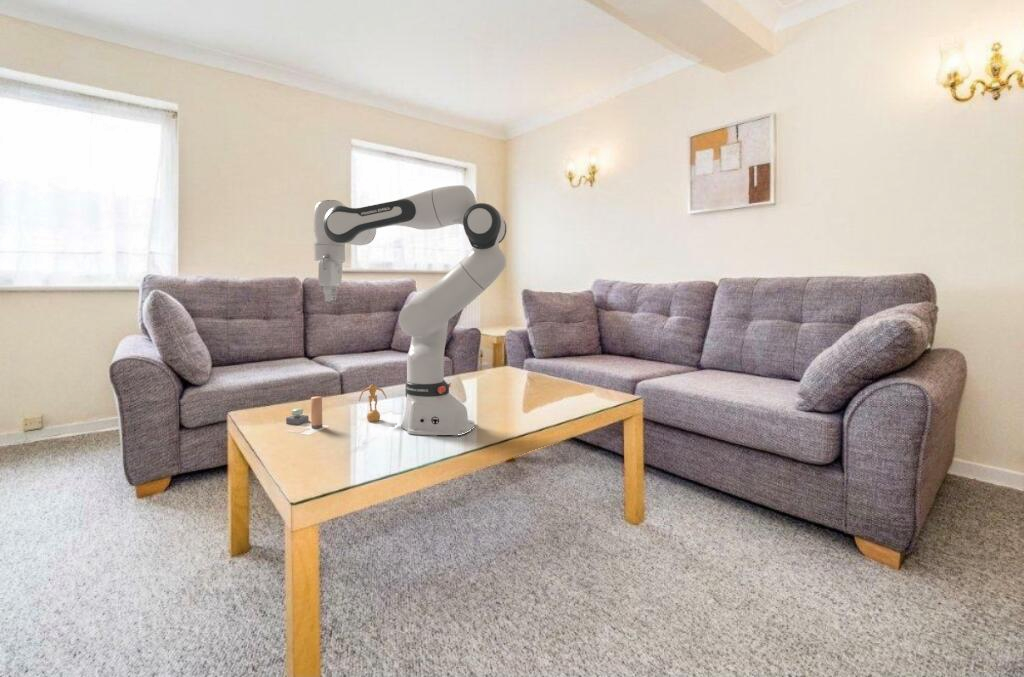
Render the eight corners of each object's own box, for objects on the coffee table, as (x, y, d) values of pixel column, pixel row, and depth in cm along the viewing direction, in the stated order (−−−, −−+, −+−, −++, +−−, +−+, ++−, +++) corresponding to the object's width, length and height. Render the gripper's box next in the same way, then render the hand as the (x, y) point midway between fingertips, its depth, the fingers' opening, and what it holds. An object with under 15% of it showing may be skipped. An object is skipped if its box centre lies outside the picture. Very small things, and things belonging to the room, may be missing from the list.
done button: (305, 417, 143) (305, 408, 143) (298, 419, 140) (297, 411, 139) (296, 416, 144) (296, 407, 143) (289, 418, 141) (289, 410, 140)
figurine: (360, 425, 142) (359, 387, 141) (358, 420, 148) (358, 383, 146) (388, 423, 145) (387, 385, 144) (385, 418, 151) (385, 381, 149)
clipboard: (335, 426, 141) (335, 418, 141) (308, 438, 129) (308, 430, 129) (296, 421, 145) (296, 414, 144) (267, 433, 133) (266, 425, 133)
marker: (324, 426, 138) (324, 396, 137) (318, 429, 136) (317, 399, 134) (316, 425, 139) (315, 396, 138) (309, 428, 136) (308, 398, 135)
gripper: (335, 253, 132) (336, 302, 134) (344, 257, 152) (345, 299, 154) (312, 253, 131) (313, 302, 132) (324, 256, 151) (325, 299, 152)
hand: (330, 300), depth 143 cm, fingers open, 8 cm apart
